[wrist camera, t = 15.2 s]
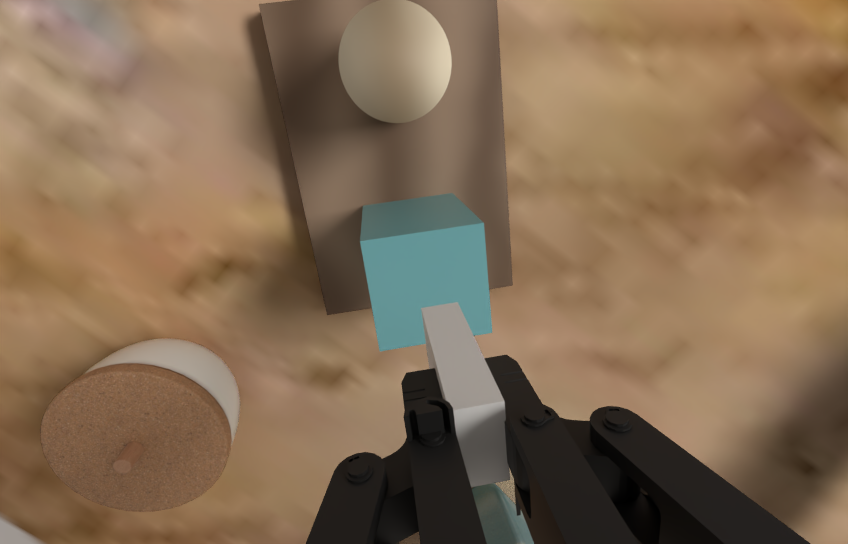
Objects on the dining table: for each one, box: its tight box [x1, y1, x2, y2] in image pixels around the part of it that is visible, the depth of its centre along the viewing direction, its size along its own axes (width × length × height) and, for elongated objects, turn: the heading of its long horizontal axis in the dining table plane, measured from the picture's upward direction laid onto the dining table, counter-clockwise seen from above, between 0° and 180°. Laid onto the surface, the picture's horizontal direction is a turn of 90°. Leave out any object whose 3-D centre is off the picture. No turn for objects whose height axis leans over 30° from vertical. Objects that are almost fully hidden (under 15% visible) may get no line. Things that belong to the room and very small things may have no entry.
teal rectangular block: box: [360, 193, 492, 351], centre depth 27 cm, size 6×6×9 cm
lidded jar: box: [40, 338, 240, 512], centre depth 30 cm, size 11×11×9 cm
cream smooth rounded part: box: [338, 0, 452, 123], centre depth 25 cm, size 6×6×8 cm
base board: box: [259, 0, 513, 315], centre depth 30 cm, size 14×20×2 cm
